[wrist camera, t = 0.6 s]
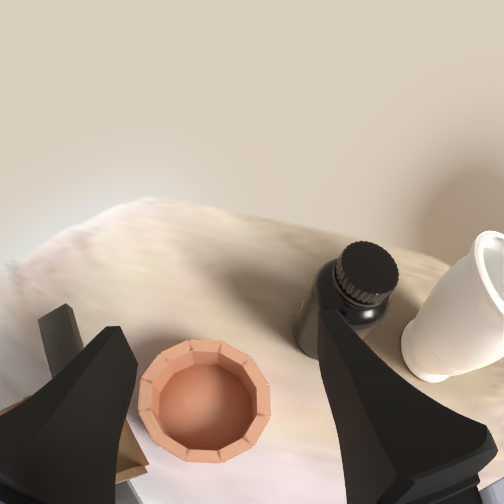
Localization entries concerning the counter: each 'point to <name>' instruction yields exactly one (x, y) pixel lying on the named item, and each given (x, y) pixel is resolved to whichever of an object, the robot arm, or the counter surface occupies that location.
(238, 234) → the counter surface
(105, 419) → the robot arm
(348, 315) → the supplement bottle
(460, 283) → the white tapered cylinder
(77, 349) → the brown tray
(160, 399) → the cup
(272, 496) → the counter surface
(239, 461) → the counter surface
